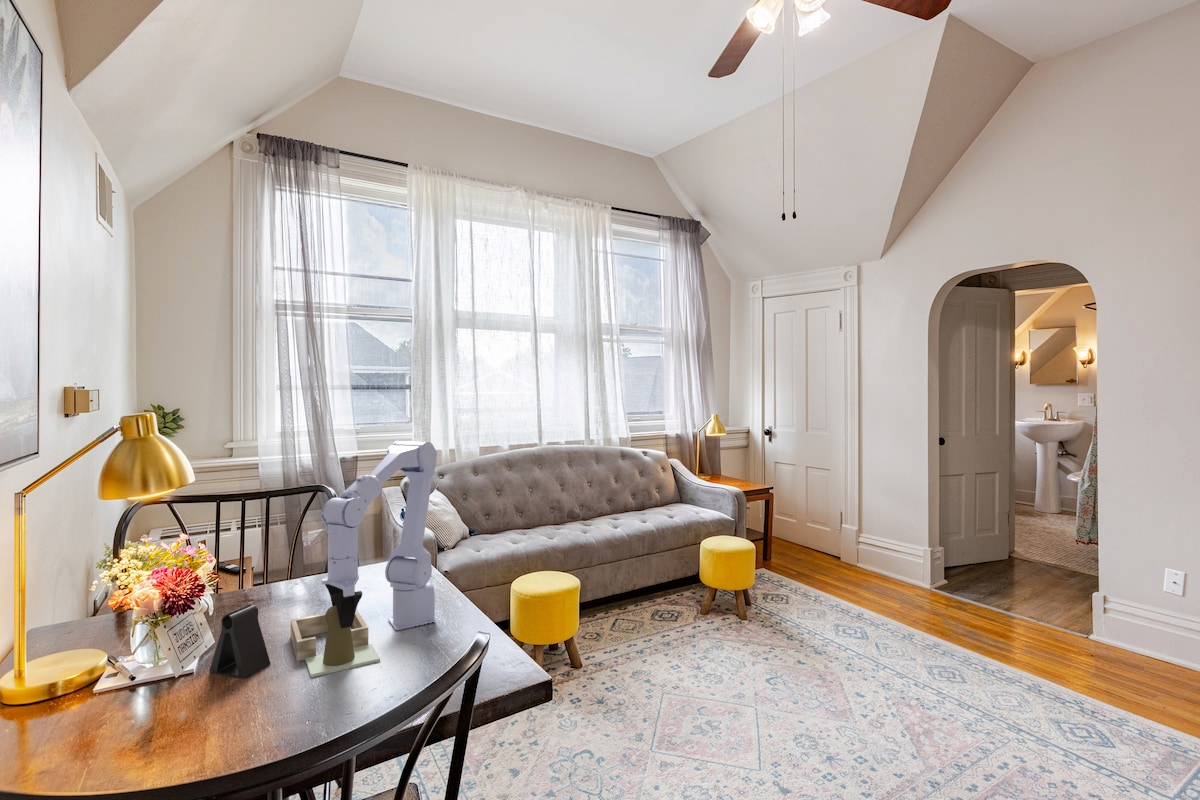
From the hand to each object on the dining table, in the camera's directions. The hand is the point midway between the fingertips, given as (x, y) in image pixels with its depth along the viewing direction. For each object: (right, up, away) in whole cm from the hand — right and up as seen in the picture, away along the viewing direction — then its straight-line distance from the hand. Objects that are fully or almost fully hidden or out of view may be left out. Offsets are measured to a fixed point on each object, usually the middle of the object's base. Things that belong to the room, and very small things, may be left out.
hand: (343, 620), depth 121 cm
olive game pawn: (-1, -8, -1) cm, 8 cm away
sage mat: (0, -8, 0) cm, 8 cm away
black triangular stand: (-19, -9, -4) cm, 21 cm away
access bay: (-7, -8, +9) cm, 15 cm away
